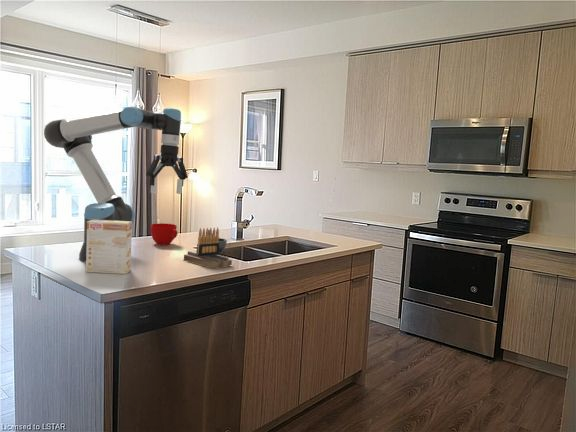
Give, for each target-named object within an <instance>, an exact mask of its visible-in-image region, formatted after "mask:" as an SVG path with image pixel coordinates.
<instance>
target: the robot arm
mask: <svg viewBox="0 0 576 432" xmlns="http://www.w3.org/2000/svg"><path fill="white" fill-rule="evenodd" d="M181 123H182V112H181V110H179V109H178V108H171V107H164V108H163V111H162V112H158V111H150V110H146V109H142V108H139V107H137V106H129V105H128V106H125V107H124V108H123V109H120V110H115V111H110V112H106V113H101V114H95V115H89V116H85V117H79V118H75V119H68V118H63V119H56V120H52V121H49V122H48V123H47V124H46V125H45V127H44V130H43V136H44V138H45V140H46V142H47V143H48V144H49V145H51V146H53V147H55V148H60V149H64V151H65V153H66V156H67V157H68V158H72V159H73V160H74V162H75V164H76V166H77V167H78V170H79V171H80V172H81V174H82V177H83V179H84V180H85V182H86V184H87V186H88V188H89V189H90V191H91V193H92V195H93V196H94V199H95V200H96V202H97V203H96V202H93V203H90V204H87V205H86V206H85V207H84V213H83V217H84V218H83V219H84V224H83V226H84V227H83V229H84V230H83V242H82V245H81V247H80V248H81V249H80V251H79V253H78V254H79V255H78V259H79V260H80V261H82V262H86V247H87V221H90V220H93V219H95V220H113V221H132V224H133V223H134V221H135V218H136V217H135V216H136V215H135V211H134V209H133V207H132V206H131V205H130V204H128V203H125V200H124V199H123V197H122V196H120V195H117V194H116V192H115V190H114V188H113V187H112V185H111V183H110V181H109V179H108V178H107V176H106V173H105V172H104V170H103V169H102V167H101V165H100V163H99V161H98V159H97V157H96V156H95V154H94V152H93V150H92V149H93V146H94V145H93V144H92V139H93V136H94V135H98V134H99V135H100V134H105V133H109V132H113V131H114V132H115V131H119V130H123V129H129V128H130V129H131V128H136V127H137V128H138V129H144V130H157V131H161V137H160V143H161V145H160V154H154V155H153V160H152V161H151V163H150V166H149V167H148V170H147V172H146V175H145V176H147V177H148V178H149V185H150V193H151V194H157V184H158V183H157V181H158V178H156V177H157V176H158V175H159V174H160V173H161V172H162V170H163V169H164V168H165V167H171V168H172V169H173V171H174V173H176V175H177V177H178V178H177V180H176V192H175V194H178V195H182V193H183V192H182V190H183V187H184V181H185V180H186V179H188V178H189V177H188V173H187V170H186V167H185V163H184V157H181V156H178V155H179V145H180V132H181Z"/></svg>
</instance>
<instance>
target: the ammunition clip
mask: <svg viewBox="0 0 576 432" xmlns="http://www.w3.org/2000/svg"><path fill="white" fill-rule="evenodd" d="M208 230H210V231H208ZM212 234H213V235H212ZM219 238H220V229H219V227H218V226H217V227H216V228H215V227H213V230H212V227H210V228H208V227H206V229H205V228H203V229H202V228H201V227H200V228H199V231H198V237H197V244H196V251H197V254H196V255H197V256H206V255H216V254H219Z"/></svg>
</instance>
